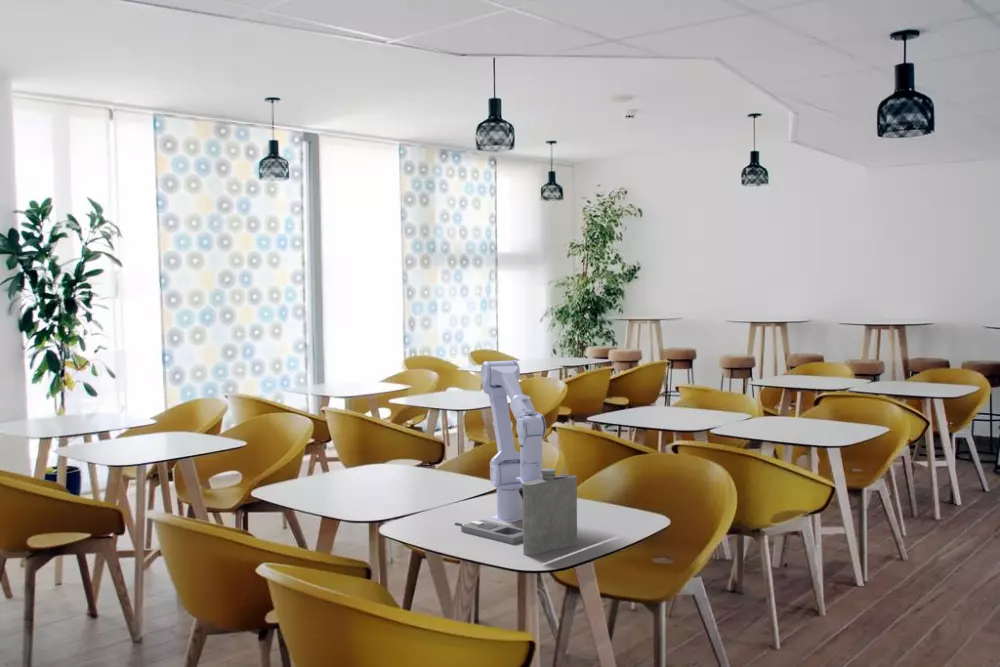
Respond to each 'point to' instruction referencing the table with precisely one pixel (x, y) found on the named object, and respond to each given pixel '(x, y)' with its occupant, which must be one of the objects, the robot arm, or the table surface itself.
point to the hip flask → (549, 513)
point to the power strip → (493, 531)
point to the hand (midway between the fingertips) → (531, 513)
